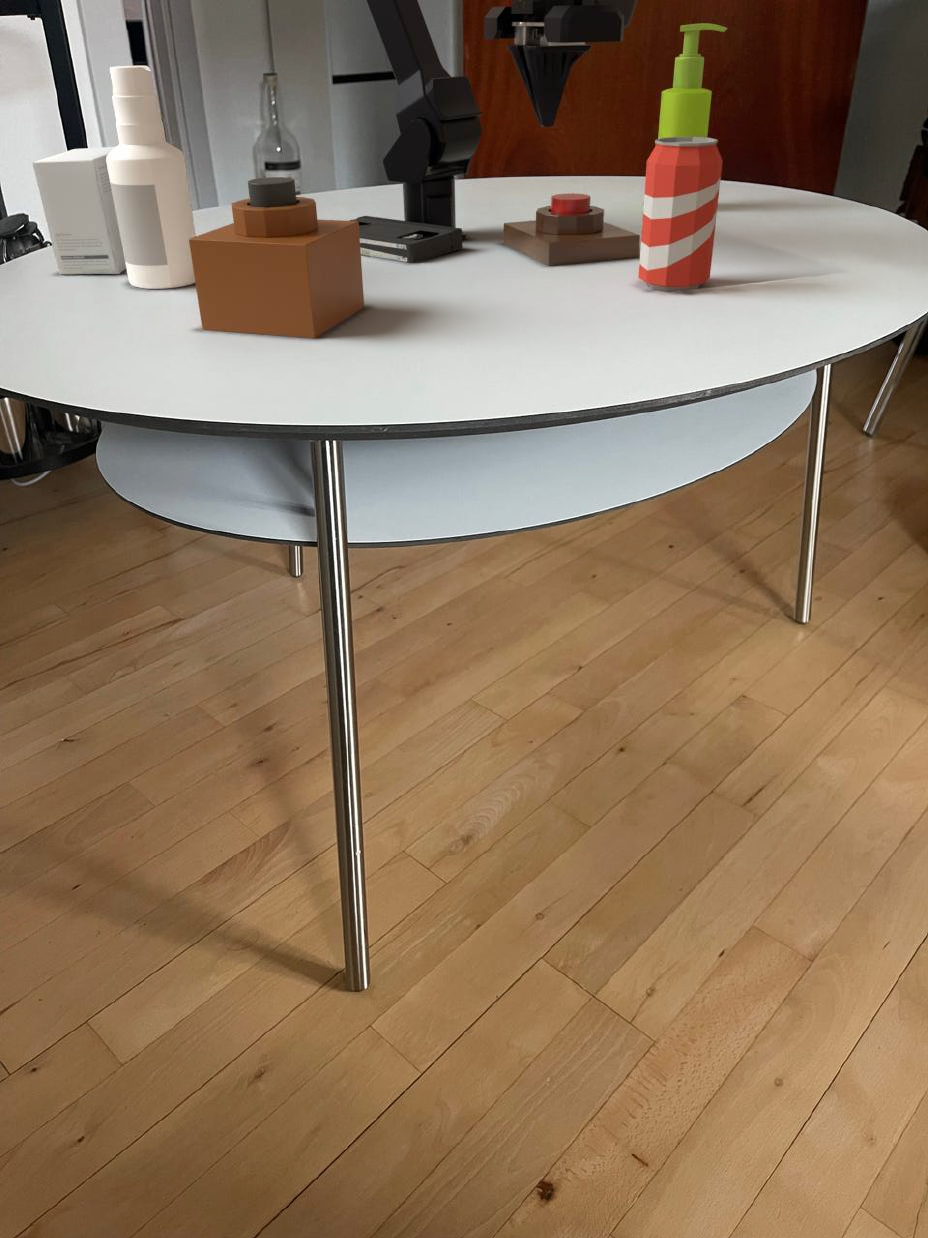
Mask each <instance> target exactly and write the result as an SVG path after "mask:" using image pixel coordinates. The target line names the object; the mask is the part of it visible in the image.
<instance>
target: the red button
mask: <svg viewBox="0 0 928 1238" xmlns="http://www.w3.org/2000/svg"><path fill="white" fill-rule="evenodd" d="M550 206H551V212H552V213H558V214H582V213H589V212H590V206H591V196H590V195H589V194H585V193H574V192H573V193H572V192H571V193H569V192H568V193H558V194H557V193H556V194H553V195H551V196H550Z"/></svg>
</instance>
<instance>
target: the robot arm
mask: <svg viewBox="0 0 928 1238" xmlns="http://www.w3.org/2000/svg"><path fill="white" fill-rule="evenodd" d="M365 1H366V4H367V6H368V9H369V11H370V14H371V17H372V19H373V22H374V25H375V28H376V30H377V32H378V35H379V37H380V40H381V43H382V46H383V48H384V51H385V54H386V57H387V59H388V61H389V64H390V67H391V70H392V72H393V75H394V77H395V80H396V84H397V95H396V108H395V118H396V122H397V126H398V130H399V134H400V135H399V136H398V138H397V139H396V140H395V142H394V143H393V144H392V146H391V147H390V149H389V151H388V152H387V153H386V155H385V156H384V158H383V160H382V164H383V168H384V171H385V174H386V178H387V181H389V182H394V183H395V182H396V183H402V193H403V217H404V221H409V222H417V223H424V224H432V225H439V226H447V227H454V228H457V224H456V223H457V220H456V177H457V176H465V175H468V174H469V172H470V168H471V164H472V160H473V157H474V154H475V152H476V151H477V149H478V147H479V144H480V139H481V138H482V136H483V133H482V132H483V131H482V124H481V120H480V118H479V117H480V116H483V111H482V110H481V109H480V107H479V106H478V104H477V102H476V100H475V96H474V93H473V89H472V84H471V81H470V80H469V78H468V76H467V75H456V76H452V75H451V74H449V72H448V71H447V70H446V69H445V68H444V67H443V65H442V62H441V60H440V57H439V55H438V52H437V50H436V46H435V44H434V41H433V38H432V36H431V33H430V30H429V27H428V25H427V22H426V20H425V17H424V14H423V11H422V9H421V6H420V2H419V1H418V0H365ZM637 3H638V0H511V6H492V7H491V9H490V10H489V11H488V13H487V14H486V15H485V16H484V19H483V21H484V23H483V24H484V26H483V27H484V28H483V31H484V33H483V35H484V36H483V38H484V40H500V39H501V40H502V39H503V40H504V39H514V44H506V49H507V51H508V52H510V54H511V56H512V59H513V61H514V63H515V66H516V68H517V69H518V73H519V75H520V76H521V79H522V82H523V85H524V87H525V89H526V92H527V95H528V97H529V100H530V103H531V106H532V109H533V111H534V113H535V116H536V118H537V122H538V124H539V126H540V127H542V128H551V127H554V124H555V121H556V117H557V114H558V111H559V108H560V105H561V101H562V99H563V95H564V91H565V88H566V85H567V81H568V78H569V76H570V73H571V70H572V68H573V66H574V65H575V63H576V62H577V61H578V60H579V59H580V58H581V57H582V56H583V55H584V54H585V53H587V52H590V51H591V50H592V48H593V44H586V43H613V42H624V32H625V31H624V30H625V28H628V27H629V26H630V24H631V22H632V21H631V20H632V18H633V15H634V12H635V9H636V6H637ZM455 176H456V177H455ZM463 239H464V240H466V239H467V233H465V232H463V231H462V240H463Z"/></svg>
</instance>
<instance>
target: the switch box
mask: <svg viewBox="0 0 928 1238" xmlns="http://www.w3.org/2000/svg"><path fill="white" fill-rule="evenodd" d="M640 243H641V234H638V233H636V232H633V231H630V230H628V229H624V228H621V227H619V226H617V225H613V224H610V223H608V222H605V208H602V207H599V206H595V205H590V212H589V213H582V214H558V213H552V212H551V205H547V206H542V207H538V208H537V209H536V211H535V220H524V221H513V222H512V221H511V222H504V223H503V245H504V246H507V247H508V248H511V249H513V250H515V251H517V252H518V253H520V254H523V255H525V256H527V257H529V258H531V259H533V260H535V261H537V262H539V263H541V264H543V265H546V266H547V267H556V266H564V265H576V264H585V263H595V262H604V261H616V260H625V259H636V258H639V257H640Z"/></svg>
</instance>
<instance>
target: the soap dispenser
mask: <svg viewBox="0 0 928 1238" xmlns="http://www.w3.org/2000/svg"><path fill="white" fill-rule="evenodd" d="M679 27H680V29H679V32H680V33H681V32H684V34H683V35H684V38H683V48H682V53H680V54H679V56H676V57H674V67H673V68H674V69H673V79H672V80H673V81H672V87H671V88H667V89H664V90H662V91H661V97H660V111H659V123H658V136H657V139H659V138H669V137H704V138H708V133H709V122H710V112H711V103H712V94H713V92H712V90H710V89H708V88H703V78H704V77H703V76H704V66H705V65H704V64H705V57H704V56H702V55H701V53H698V52H699V42H700V31H716V32H721V33H725V32H726V31H727V30H728V27H726V26H723V25H720V24H714V23H706V22H705V23H704V22H703V23H701V22H700V23H690V24H683V25H680V26H679Z"/></svg>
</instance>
